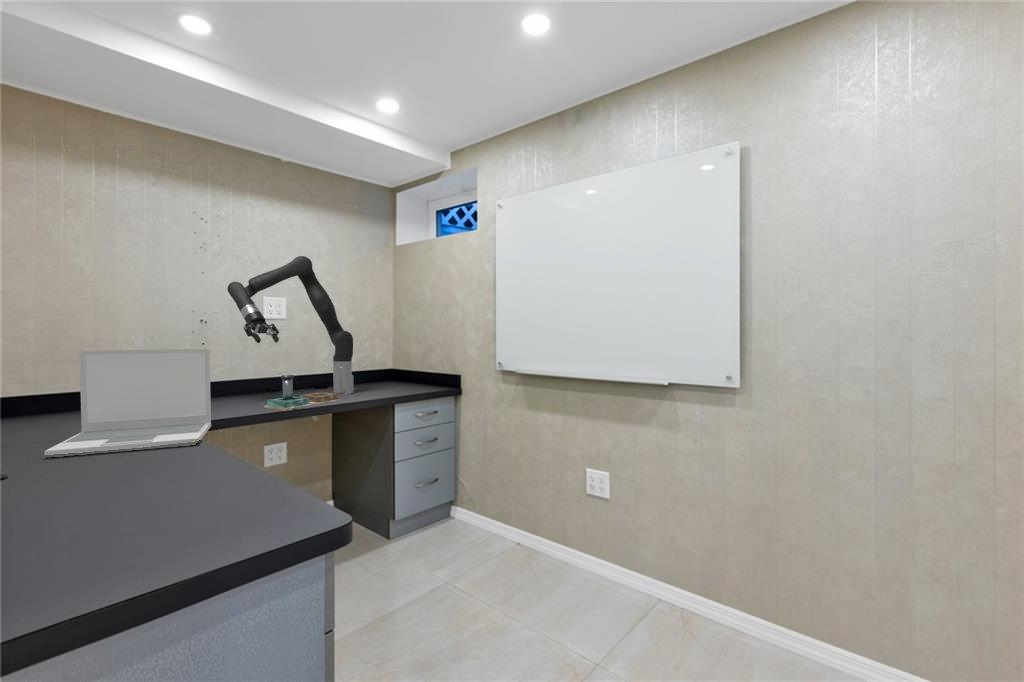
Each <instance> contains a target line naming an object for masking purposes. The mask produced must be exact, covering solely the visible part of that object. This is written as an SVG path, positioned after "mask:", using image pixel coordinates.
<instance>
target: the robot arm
mask: <svg viewBox="0 0 1024 682" xmlns="http://www.w3.org/2000/svg"><path fill="white" fill-rule="evenodd" d="M293 277H298V278H299V280H300V281H301V283H302V286H303V287H304V289H305V291H306V294H307V296H308V299H309V301H310V303H311V304H312V307H313V309H314V311H315V312H316V313H317V316H318V317H319V318H320V321H321V322H322V324H323V325H324V327H325V329H326V331H327V334H328V337H329V338H330V341H331V343H332V345H333V346H334V355H333V356H332V357H333V358H332V360H333V361H332V362H333V363H332V366H333V367H332V368H333V369H332V372H333V375H332V376H333V378H332V379H333V380H332V382H333V384H332V385H333V394H339V395H341V394H343V395H351V394H353V393H354V391H355V390H354V375H353V364H352V363H353V362H352V361H353V360H352V358H353V355H354V337H353V335H352V333H351V332H349V331H347V330H344V329H343V327H342V325H341V324H340V322H339V319H338V316H337V312H336V308H335V305H334V302H332V301H333V300H332V298H331V297H330V296H329V294H328V292H327V291H326V289H325V287H324V286H323V285H322V284H321V283H320V282H319V280H318V278H317V276H316V273H315V272H314V269H313V262H312V260H311V259H310V258H309V257H307V256H305V255H298V256H296V257H295V258H294V259H293V260H291V261H290V262H288V263H286V264H285V265H282V266H281V267H277V268H276V269H272V270H270V271H266V272H263V273H260V274H258V275H256V276H254V277H251V278H249V279H248V281H247V282H248V285H246V286H245V285H244V284H243V283H241V282H239V281H232V282H230V283H229V284H228V285H227V293H228V294H229V295H230V297H231V299H232V300H233V301H234V303H235V305H236V307H237V309H238V310H239V312H240V313H241V316H242V318H243V319H244V322H245V324H244V325H243V327H242V328H243V330H244V332H245V334H246V336H247V337H252V338H253V339H254V341H255V342H256V343H257V344H260V343H261V342H262V339H261V337H260V336H259V334H264V335H267V336H270V337H271V338H272V340H273V341H274V343H278V342H279V340H280V338H279V336H278V335H279V333H280V330H278V328H277V326H276V325H275V324H274V323H271V324H268V323H267V322H266V318H265V316H264V315H263V314H262V312H261V310H260V309H259V308H258V306H257V305H256V303H255V302H254V301H253V299H252V297H254V296H255V295H256V294H257V293H259V292H262V291H264V290H266V289H268V288H270V287H273V286H275V285H277V284H279V283H281V282H283V281H285V280H288V279H291V278H293Z"/></svg>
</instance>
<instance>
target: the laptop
mask: <svg viewBox="0 0 1024 682" xmlns="http://www.w3.org/2000/svg"><path fill="white" fill-rule="evenodd" d="M210 350H211V349H210V348H176V349H175V348H174V349H173V348H170V349H167V348H166V349H165V348H164V349H162V348H161V349H123V350H122V349H115V350H114V349H111V350H110V349H109V350H108V349H107V350H106V349H105V350H102V349H101V350H79V380H80V381H79V382H80V388H79V389H80V416H81V418H80V419H81V423H80V425H81V431H80V432H79V433H77V434H74V435H73V436H70V437H69V438H67V439H66V440H64V441H61V442H60V443H58V444H55V445H54V446H53V445H52V446H51V447H49V448H48V449H46V450H44V456H45V455H54V454H68V453H83V452H94V451H108V450H119V449H132V448H143V447H151V446H160V445H168V444H178V443H187V442H195V441H199V440H200V441H201V440H202V439H203V437H205V435H206V433H208V431H209V430H210V428H211V427H212V411H211V410H212V408H211V406H212V404H211V400H212V399H211V362H210V361H211V360H210V359H211V358H210V357H211V351H210ZM197 439H198V440H197ZM200 441H199V442H200Z"/></svg>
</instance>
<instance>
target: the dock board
mask: <svg viewBox="0 0 1024 682" xmlns="http://www.w3.org/2000/svg"><path fill="white" fill-rule="evenodd" d="M341 400H342V399H340V398H339V393H334V392H333V393H331V392H323V391H321V392H314V393H307V394H300V395H299V396H293V400H288V401H285V400H283V397H279V398H273V399H272V398H271V399H267V403H266V405H264V406H263V407H264V409H269V410H276V411H284V412H289V411H293V410H294V411H295V410H297V408H298V407H306V406H310V405H317V404H323V403H328V402H329V403H331V402H336V401H341Z"/></svg>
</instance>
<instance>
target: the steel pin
mask: <svg viewBox="0 0 1024 682" xmlns="http://www.w3.org/2000/svg"><path fill="white" fill-rule="evenodd" d="M294 377H295V376H294V374H284V375H280V378H281V379H282V398H283V400H285V401H288V400H293V397H294V386H293V385H294V384H293V383H294V382H293V381H294V379H293V378H294Z"/></svg>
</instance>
